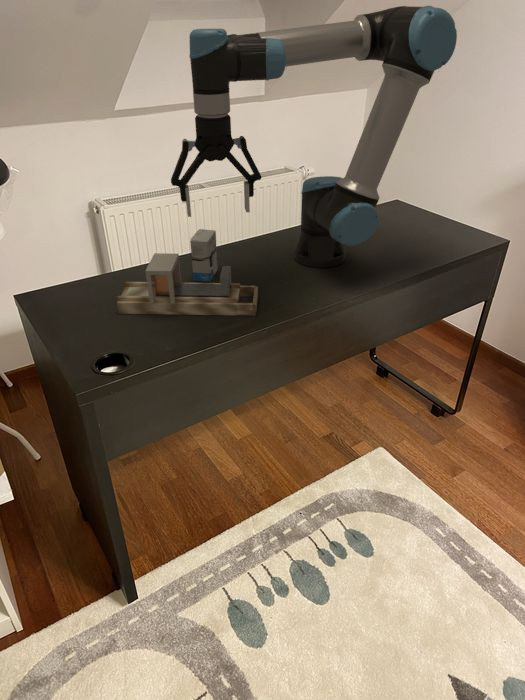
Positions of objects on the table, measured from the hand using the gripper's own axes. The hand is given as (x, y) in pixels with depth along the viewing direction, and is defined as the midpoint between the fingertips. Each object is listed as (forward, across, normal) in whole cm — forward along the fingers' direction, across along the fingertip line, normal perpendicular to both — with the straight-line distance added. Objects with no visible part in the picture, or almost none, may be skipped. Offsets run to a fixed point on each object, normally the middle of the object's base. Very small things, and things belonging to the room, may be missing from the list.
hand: (218, 212), depth 122 cm
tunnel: (+19, +14, +1) cm, 24 cm away
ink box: (+22, +3, -14) cm, 26 cm away
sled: (+19, +7, +3) cm, 20 cm away
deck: (+22, +9, +3) cm, 24 cm away
